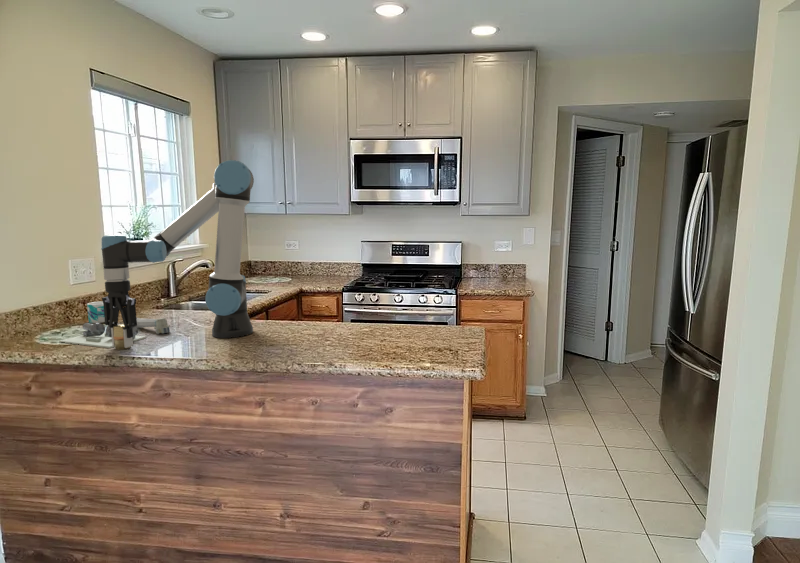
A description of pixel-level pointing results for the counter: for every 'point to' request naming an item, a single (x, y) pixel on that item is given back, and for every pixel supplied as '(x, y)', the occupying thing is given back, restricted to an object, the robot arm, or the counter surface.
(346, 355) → the counter surface
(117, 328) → the gold upright block
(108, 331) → the shaft
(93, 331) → the shaft
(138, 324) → the grey hammer
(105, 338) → the board
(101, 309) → the mug
